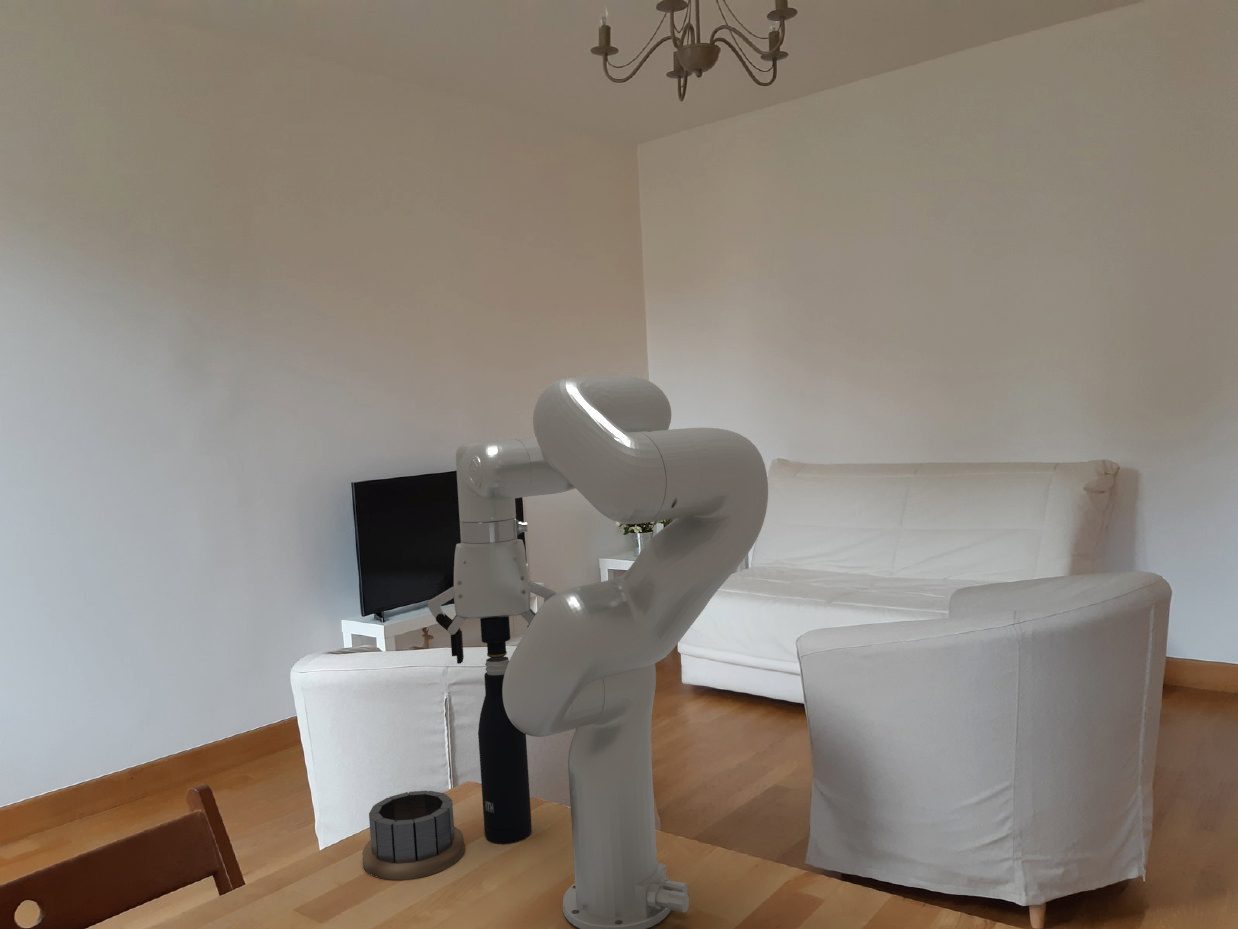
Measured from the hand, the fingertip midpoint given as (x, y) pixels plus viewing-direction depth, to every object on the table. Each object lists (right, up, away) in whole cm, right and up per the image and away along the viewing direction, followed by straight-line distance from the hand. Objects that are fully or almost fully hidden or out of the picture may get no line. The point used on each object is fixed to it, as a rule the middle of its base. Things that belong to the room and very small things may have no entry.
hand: (496, 658), depth 126 cm
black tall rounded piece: (+2, -24, +1) cm, 24 cm away
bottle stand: (-10, -25, -4) cm, 27 cm away
